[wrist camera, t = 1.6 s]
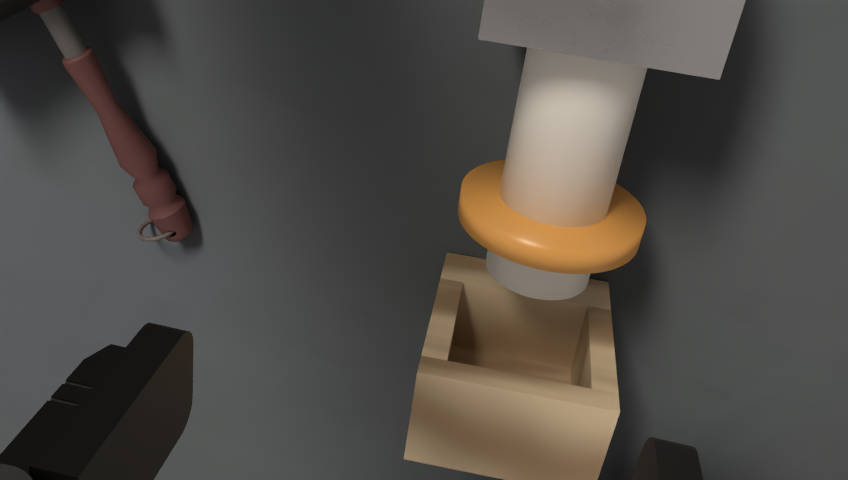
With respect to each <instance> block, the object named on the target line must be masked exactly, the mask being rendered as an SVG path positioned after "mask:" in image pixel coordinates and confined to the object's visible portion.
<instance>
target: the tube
mask: <svg viewBox="0 0 848 480" xmlns="http://www.w3.org/2000/svg"><path fill="white" fill-rule="evenodd" d="M646 72H647V68H646V67H640V66H634V65H628V64H622V63H616V62H610V61H604V60H598V59H592V58H586V57H580V56H574V55H568V54H562V53H556V52H550V51H544V50H538V49H533V48H527V50H526V56H525V61H524V66H523V71H522V76H521V81H520V86H519V92H518V97H517V102H516V107H515V112H514V117H513V122H512V128H511V133H510V138H509V143H508V148H507V153H506V158H505V159H503V160H497V161H492V162H488V163H485V164H482V165H480V166H478V167H476V168H474V169H472V170H471V171H470V172H469V173H468V174H467V175H466V176H465V177H464V179H463V182H462V186H461V192H460V198H459V204H458V218H459V221H460V223H461V225H462V227H463V228H464V230H465V231H466V232H467V233H468V234H469V235H470V236H471V237H472V238H473V239H474V240H475V241H476V242H478V243H479V244H480V245H482V246H483V247H485V248H486V249H488V251H487V256H486V268H487V270H488V272H489V274H490V275H491V276H492V277H493V279H494V280H496V281H497V282H498V283H499V284H501V285H502V286H503V287H505V288H507V289H509V290H511V291H513V292H515V293H518V294H520V295H523V296H527V297H530V298H535V299H541V300H563V299H568V298H572V297H574V296H577V295H579V294H580V293H582V292H583V291H584V290H585V288H586V287H587V285H588V281H589V278H590V274H591V273H599V272H605V271H609V270H613V269H616V268H618V267H620V266H623V265H624V264H626V263H628V262H629V261H630V260H631V259H632V258H633V257H634V256H635V255H636V253H637V251H638V248H639V245H640V242H641V238H642V235H643V232H644V229H645V225H646V214H645V211H644V209H643V207H642V206H641V204H640V203H639V202H638V200H637V199H636V198H635V197H634V196H633V195H632V194H631V193H629V192H628V191H627V190H625V189H624V188H623V187H621V186H619V185H618V184H616V180H617V177H618V173H619V169H620V166H621V162H622V158H623V155H624V151H625V148H626V144H627V140H628V137H629V133H630V130H631V126H632V122H633V119H634V115H635V111H636V108H637V104H638V101H639V97H640V93H641V90H642V86H643V83H644V79H645V75H646Z"/></svg>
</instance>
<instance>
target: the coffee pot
mask: <svg viewBox="0 0 848 480" xmlns="http://www.w3.org/2000/svg"><path fill="white" fill-rule="evenodd" d="M63 2H64V0H0V21H2V20H4V19H6V18H8V17H10V16H12V15H14V14H16V13H18V12H20V11H22V10H24V9H26V8H28V7H30V9H31V10H32V12H33V14H39V15H40V17H41V19H42V21H43V22H44V24H45V26H46V27H47V29H48V31H49V32H50V34H51V36H52V37H53V39H54V41H55V42H56V44H57V46H58V48H59V49H60V51H61V53H62V54H63V56H64V58H63V60H62V63H63V65H64V67H65V68H66V70H67V71H68V72H69V74H70V75H71V77H72V78H73V79H74V81H75V82H76V84H77V85H78V87H79V88H80V89H81V91H82V92H83V94H84V95H85V96H86V98H87V99H88V101H89V102H90V103H91V105H92V106H93V108H94V109H95V110H96V112H97V114H98V116H99V119H100V121H101V123H102V125H103V128H104V130H105V132H106V135H107V137H108V139H109V142H110V144H111V146H112V149H113V151H114V153H115V156H116V158H117V160H118V162H119V165H120V167H121V168H122V169H124V170H125V171H126V172H127V173H129V174H130V175H131V176H132V177H134V178H135V181H134V183H133V188H134V190H135V191H136V193H137V195H138V196H139V198H140V200H141V201H142V203H143V205H145V206H148V207H149V214H148V216H149V218H150V219H149V220H147V221H145V222H144V223H143V224H142V225H141V226H140V227H139V229H138V232H137V235H138V237H139V239H141V240H143V241H157V240H161V239H164V238H165V239H167V240H168V241H171V242H176V241H180V240H183V239H184V238H186V237H187V236H189V235H190V233H191V232H192V230H193V223H192V220H191V217H190V214H189V211H188V208H187V205H186V202H185V200H184V198H183V197H181V196H179V195H177V194H176V189H177V187H176V186H175V184H174V182H173V180H172V179H171V177H170V175H169V173H168V171H167V170H166V169H164V168H158V162H157V152H156V148H155V147H154V146H153V144H152V143H151V142H150V141H149V140H148V138H147V137H146V136H145V135H144V134H143V132H142V131H141V130H140V129H139V127H138V126H137V125H136V124H135V123H134V121H133V120H132V119H131V118H130V117H129V115H128V114H127V113H126V112H125V110H124V109H123V108H122V107H121V106H120V104H119V103H118V102H117V100H116V98H115V95H114V93H113V91H112V89H111V87H110V85H109V83H108V80H107V78H106V76H105V74H104V72H103V70H102V67H101V65H100V63H99V61H98V59H97V57H96V55H95V52H94V51H93V49H92V48H89V47H86V46H85V44H84V42H83V41H82V39H81V37H80V35H79V34H78V32H77V30H76V28H75V27H74V25H73V23H72V21H71V20H70V18H69V16H68V14H67V13H66V11H65V9H64V7H63V6H62V3H63ZM151 222H153V223H154V225H155V226H156V227H157V228H158V230H159V231H160V232H161V234H162V235H160V236H156V237H144V236H143V235H142V230H143V229H144V228H145V227H146V226H147V225H148V224H150V223H151Z"/></svg>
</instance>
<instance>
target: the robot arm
mask: <svg viewBox="0 0 848 480" xmlns="http://www.w3.org/2000/svg"><path fill="white" fill-rule="evenodd" d="M192 394H193V336H192V334H191V332H189V331H184V330H180V329H176V328H171V327H167V326H162V325H158V324H153V323H147V324H146V325H144V326H143V327H142V329H141V330H140V331H139V332H138V333H137V335H136V336H135V337H134V338H133V339H132V341H131V342H130V343H129V344H128V346H127V347H126V348H125V347H121V346H117V345H112V344H111V345H109V346H107V347H105V348H103V349H102V350H100V351H98V352H96V353H95V354H93V355H91V356H89V357H87V358H86V359H84V360H83V361H82V362H81V363H80V365H79V366H78V367H77V368H76V369H75V370H74V371H73V372H72V374H71V375H70V376H69V377H68V378H67V379H66V383H65V384H62V385H61V386H60V387H59V388H58V390H57V391H56V392H55V393H54V394H53V395H52V396H51V400H50V401H47V402H46V403H45V404H44V405H43V407H42V408H41V409H40V410H39V411H38V412H37V413H36V414H35V416H34V417H33V418H32V419H31V420H30V421H29V422H28V424H27V425H26V426H25V427H24V428H23V429H22V430H21V432H20V433H19V434H18V435H17V436H16V437H15V438H14V439H13V441H12V442H11V443H10V444H9V445H8V446H7V447H6V449H5V450H4V451H3V452H2V453H1V454H0V480H154V478H155V477H156V475H157V473H158V472H159V470H160V468H161V467H162V465H163V464H164V462H165V460H166V459H167V457H168V456H169V454H170V452H171V451H172V449H173V447H174V446H175V444H176V443H177V441H178V439H179V438H180V436H181V434H182V433H183V431H184V429H185V426H186V424H187V421H188V418H189V415H190V411H191V406H192ZM631 480H703V478H702V473H701V468H700V463H699V458H698V453H697V451H696V449H695V448H694V447H692V446H687V445H683V444H678V443H674V442H670V441H665V440H661V439H656V438H652V437H650V438H648V440H647V441H646V443H645V445H644V447H643V450H642V452H641V455H640V457H639V460H638V462H637V465H636V468H635V470H634V473H633V475H632V478H631Z"/></svg>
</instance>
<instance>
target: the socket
mask: <svg viewBox="0 0 848 480" xmlns="http://www.w3.org/2000/svg"><path fill="white" fill-rule="evenodd" d="M619 414H620V404H619V393H618V382H617V371H616V360H615V348H614V337H613V326H612V315H611V304H610V292H609V282H605V281H600V280H594V279H589V281H588V285H587V287H586V288H585V290H584V291H583V292H582V293H580V294H579V295H577V296H574V297H572V298H568V299H563V300H541V299H535V298H530V297H527V296H523V295H520V294H518V293H515V292H513V291H511V290H509V289H507V288H505V287H503V286H502V285H501V284H499V283H498V282H497V281H496V280H494V279H493V277H492V276H491V275H490V274H489V272H488V270H487V268H486V259H482V258H476V257H471V256H465V255H460V254H455V253H449V252H447V253H446V257H445V261H444V265H443V269H442V274H441V278H440V282H439V286H438V290H437V294H436V298H435V302H434V306H433V310H432V314H431V318H430V322H429V326H428V330H427V334H426V338H425V342H424V346H423V351H422V355H421V359H420V363H419V367H418V371H417V376H416V383H415V389H414V396H413V402H412V409H411V415H410V421H409V428H408V434H407V441H406V447H405V454H404V459H406V460H411V461H415V462H420V463H425V464H430V465H435V466H440V467H445V468H450V469H455V470H460V471H464V472H469V473H474V474H479V475H484V476H489V477H494V478H499V479H504V480H598V477H599V474H600V471H601V468H602V465H603V462H604V459H605V456H606V453H607V450H608V447H609V444H610V441H611V438H612V435H613V432H614V429H615V426H616V423H617V420H618V417H619Z"/></svg>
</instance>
